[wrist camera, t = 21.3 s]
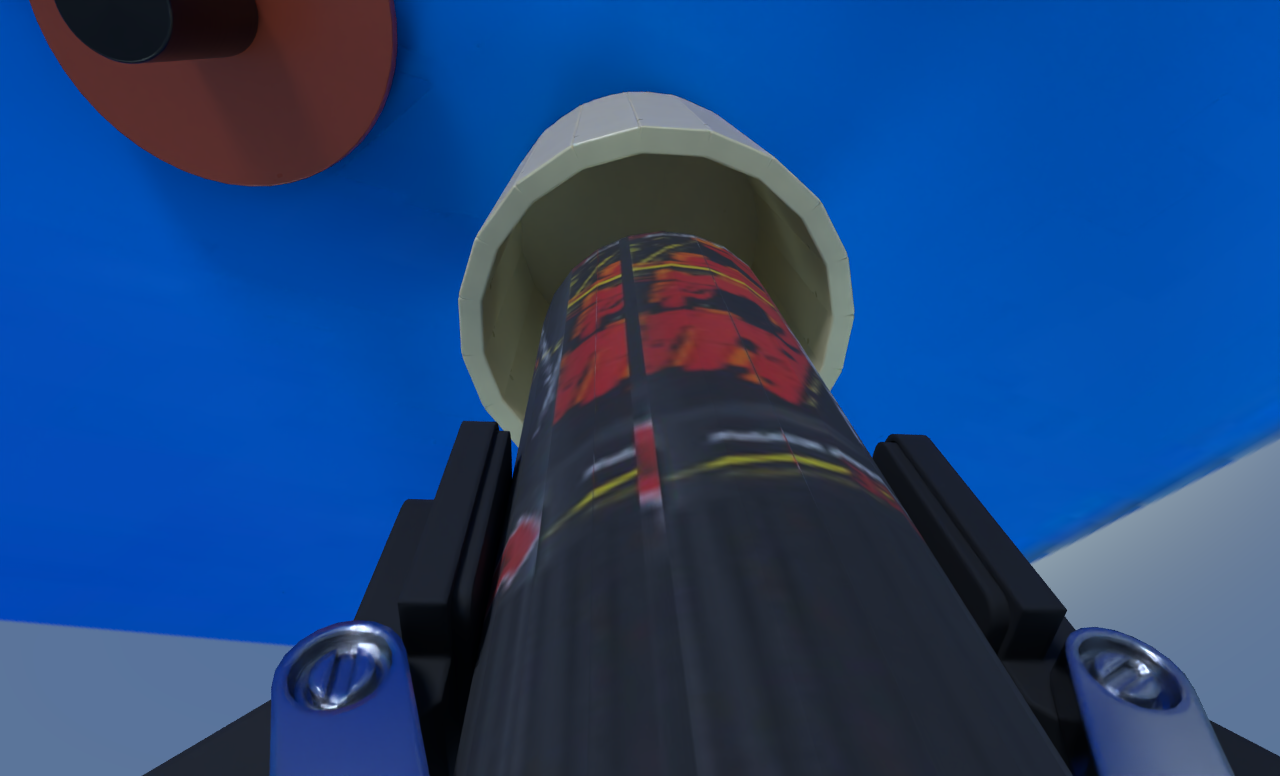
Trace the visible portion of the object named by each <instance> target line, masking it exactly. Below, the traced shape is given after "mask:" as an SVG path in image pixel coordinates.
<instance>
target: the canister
mask: <svg viewBox="0 0 1280 776" xmlns="http://www.w3.org/2000/svg"><path fill="white" fill-rule="evenodd" d="M658 231H666V232H675V233H684V234H692V235H696V236H699V237H701V238H704V239H706V240H709V241H711V242H714V243H716V244H719V245H721V246H724V247H725V248H726V249H728V250H729V251H730V252H731V253H733V254H734V255H735V256H737V257H738V258H739V259H741V260H742V261H743V262H744V263H746V264H747V265H748V266H749V267H750V269H751V270H752V271H753V273H754V274H755V276H756V277H757V278H758V280H759V281H760V282H761V284H762V285H763V287H764V288H765V289H766V291H767V293H768V294H769V296H770V297H771V299H772V300H773V302H774V304H775V305H776V307H777V308H778V310H779V311H780V313H781V315H782V316H783V318H784V319H785V321H786V323H787V324H788V326H789V327H790V329H791V330H792V332H793V334H794V335H795V337H796V338H797V340H798V342H799V343H800V345H801V346H802V348H803V349H804V351H805V353H806V354H807V356H808V357H809V359H810V361H811V362H812V364H813V365H814V367H815V368H816V370H817V372H818V373H819V375H820V376H821V378H822V380H823V381H824V383H825V384H826V386H827V387H828V389H829V391H830V390H831V389H832V387H833V385H834V383H835V382H836V380H837V378H838V377H839V375H840V373H841V371H842V370H841V369H842V368H843V364H844V359H845V355H846V351H847V346H848V342H849V337H850V333H851V328H852V324H853V319H854V303H853V294H852V285H851V276H850V267H849V258H848V257H847V252H846V250H845V248H844V246H843V244H842V242H841V240H840V238H839V236H838V234H837V232H836V230H835V228H834V226H833V224H832V222H831V220H830V218H829V216H828V214H827V212H826V210H825V208H824V206H823V204H822V203H821V202H820V199H819V198H818V197H816V196H815V195H814V194H813V193H812V192H811V191H810V190H809V189H808V188H807V187H806V186H805V185H804V184H803V183H802V182H800V181H799V180H798V179H797V178H796V177H795V176H794V175H793V174H792V173H791V172H790V171H789V170H788V169H787V168H786V167H784V166H783V165H782V164H781V163H780V162H779V161H778V160H777V159H776V158H775V157H773V156H772V155H771V154H769V153H768V152H767V151H765V150H764V149H763V148H761V147H760V146H759V145H757V144H756V143H755V142H753V141H752V140H751V139H749V138H748V137H746V136H745V135H744V134H742V133H741V132H740V131H738V130H737V129H736V128H734V127H733V126H732V125H730V124H729V123H728V122H726V121H725V120H724V119H722V118H721V117H720V116H718V115H717V114H715V113H714V112H712V111H710V110H707V109H705V108H703V107H701V106H698V105H696V104H694V103H692V102H690V101H687V100H685V99H682V98H680V97H677V96H673V95H671V94H660V93H653V92H627V93H626V92H624V93H620V94H614V95H609V96H606V97H603V98H599V99H596V100H593V101H591V102H588V103H585V104H583V105H580V106H579V107H577V108H576V109H574V110H573V111H571V112H570V113H568V114H566V115H565V116H563V117H562V118H560V119H559V120H558V121H557V122H556V123H555V124H553V125H552V126H550V127H549V128H548V129H546V131H545V132H543V133H542V135H541V136H540V137H539V139H538V140H537V142H536V143H535V144H534V146H533V147H532V149H531V150H530V151H529V153H528V154H527V156H526V157H525V158H524V160H523V161H522V162H521V164H520V165H519V167H518V168H517V170H516V172H515V173H514V175H513V177H512V178H511V180H510V181H509V183H508V185H507V186H506V188H505V190H504V191H503V193H502V195H501V196H500V198H499V200H498V201H497V203H496V204H495V206H494V208H493V209H492V211H491V213H490V214H489V216H488V218H487V219H486V221H485V222H484V224H483V226H482V227H481V229H480V231H479V232H478V234H477V237H476V238H475V240H474V243H473V247H472V250H471V254H470V257H469V260H468V264H467V267H466V271H465V274H464V278H463V281H462V285H461V288H460V291H459V298H458V304H459V321H460V337H461V352H462V355H463V359H464V362H465V364H466V367H467V369H468V371H469V374H470V376H471V378H472V381H473V383H474V386H475V388H476V390H477V393H478V395H479V398H480V400H481V402H482V405H483V406H485V409H486V411H487V412H488V413H489V414H490V415H491V416H492V417H493V419H494V420H495V421H496V422H497V423H498V424H499V426H500V427H501V428H502V429H503V430H504V431H510V434H511V439H512V441H513V442H514V443H515V444H516V445H517V446H518V447H519V443H520V438H521V433H522V428H523V423H524V418H525V413H526V408H527V403H528V398H529V393H530V388H531V383H532V378H533V373H534V368H535V363H536V358H537V353H538V348H539V343H540V338H541V333H542V328H543V323H544V320H545V317H546V314H547V311H548V309H549V306H550V303H551V301H552V298H553V295H554V293H555V292H556V290H557V289H558V288H559V286H560V285H561V284H562V282H563V281H564V280H565V278H566V277H567V275H568V274H569V273H570V271H571V270H572V269H573V268H574V267H575V266H577V265H578V264H579V263H580V262H582V261H583V260H584V259H585V258H587V257H588V256H589V255H591V254H592V253H593V252H594V251H596V250H597V249H598V248H601V247H603V246H606V245H608V244H610V243H613V242H615V241H617V240H620V239H622V238H624V237H627V236H630V235H637V234H644V233H651V232H658Z"/></svg>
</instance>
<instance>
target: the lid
mask: <svg viewBox="0 0 1280 776" xmlns="http://www.w3.org/2000/svg"><path fill="white" fill-rule="evenodd" d="M29 1H30V3H31V6H32V9H33V12H34V14H35V17H36V20H37V22H38V24H39V26H40V28H41V30H42V32H43V34H44V37H45V39H46V41H47V43H48V45H49V47H50V48H51V50H52V52H53V53H54V55H55V57H56V58H57V60H58V61H59V63H60V65H61V66H62V68H63V70H64V71H65V72H66V74H67V75H68V76H69V78H70V79H71V80H72V82H73V83H74V84H75V86H76V87H77V88H78V90H79V91H80V92H81V94H82V95H83V96H84V97H85V98H86V99H87V100H88V101H89V102H90V103H91V105H92V106H93V107H94V108H95V109H96V110H97V111H98V112H99V113H100V114H101V115H102V116H103V117H104V118H105V119H106V120H107V121H108V122H110V123H111V124H112V125H113V126H114V127H115V128H116V129H117V130H118V131H119V132H121V133H122V134H123V135H125V136H126V137H127V138H129V139H130V140H131V141H133V142H134V143H135V144H137V145H138V146H139V147H141V148H142V149H144V150H146V151H147V152H149V153H151V154H152V155H154V156H156V157H157V158H159V159H160V160H162V161H164V162H166V163H168V164H171V165H173V166H175V167H177V168H179V169H181V170H183V171H186V172H188V173H191V174H194V175H197V176H200V177H202V178H205V179H209V180H213V181H218V182H222V183H226V184H233V185H242V186H274V185H280V184H287V183H292V182H295V181H298V180H302V179H305V178H308V177H311V176H313V175H315V174H317V173H319V172H321V171H323V170H325V169H327V168H329V167H331V166H333V165H334V164H336V163H337V162H339V161H340V160H342V159H343V158H345V157H346V156H347V155H348V154H350V153H351V152H352V151H353V150H354V149H355V148H356V147H357V146H358V145H359V144H360V143H361V142H362V141H363V139H364V138H365V137H366V136H367V134H368V133H369V132H370V130H371V129H372V128H373V126H374V125H375V123H376V121H377V119H378V117H379V115H380V114H381V112H382V110H383V108H384V105H385V102H386V100H387V97H388V95H389V92H390V89H391V85H392V80H393V76H394V71H395V65H396V54H397V20H396V13H395V6H394V0H29Z"/></svg>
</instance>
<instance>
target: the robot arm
mask: <svg viewBox="0 0 1280 776" xmlns="http://www.w3.org/2000/svg"><path fill="white" fill-rule="evenodd" d="M872 459H873V460H874V462H875V463H876V465H877V466H878V468H879V470H880V471H881V473H882V474H883V476H884V478H885V479H886V481H887V482H888V484H889V485H890V487H891V489H892V490H893V492H894V493H895V495H896V497H897V498H898V500H899V501H900V503H901V504H902V506H903V508H904V509H905V511H906V512H907V514H908V516H909V517H910V519H911V520H912V522H913V523H914V525H915V527H916V528H917V530H918V531H919V533H920V535H921V536H922V538H923V539H924V541H925V542H926V544H927V546H928V547H929V549H930V550H931V552H932V553H933V555H934V557H935V558H936V560H937V561H938V563H939V565H940V566H941V568H942V569H943V571H944V572H945V574H946V576H947V577H948V579H949V580H950V582H951V584H952V585H953V587H954V588H955V590H956V591H957V593H958V595H959V596H960V598H961V599H962V601H963V603H964V604H965V606H966V607H967V609H968V610H969V612H970V614H971V615H972V617H973V618H974V620H975V621H976V623H977V625H978V626H979V628H980V629H981V631H982V633H983V634H984V636H985V637H986V639H987V640H988V642H989V644H990V645H991V647H992V648H993V650H994V652H995V653H996V655H997V656H998V658H999V659H1000V661H1001V663H1002V664H1003V666H1004V667H1005V669H1006V671H1007V672H1008V674H1009V675H1010V677H1011V678H1012V680H1013V682H1014V683H1015V685H1016V686H1017V688H1018V690H1019V691H1020V693H1021V694H1022V696H1023V697H1024V699H1025V701H1026V702H1027V704H1028V705H1029V707H1030V708H1031V710H1032V712H1033V713H1034V715H1035V716H1036V718H1037V720H1038V721H1039V723H1040V724H1041V726H1042V727H1043V729H1044V731H1045V732H1046V734H1047V735H1048V737H1049V739H1050V740H1051V742H1052V743H1053V745H1054V746H1055V748H1056V750H1057V751H1058V753H1059V754H1060V756H1061V758H1062V759H1063V761H1064V762H1065V764H1066V765H1067V767H1068V769H1069V770H1070V772H1071V773H1072V775H1073V776H1280V757H1279V756H1278V755H1276V754H1274V753H1272V752H1270V751H1268V750H1266V749H1264V748H1262V747H1260V746H1259V745H1257V744H1255V743H1253V742H1251V741H1249V740H1247V739H1245V738H1243V737H1241V736H1239V735H1237V734H1235V733H1233V732H1232V731H1230V730H1228V729H1226V728H1223V727H1222V726H1220V725H1218V724H1216V723H1214V722H1212V721H1210V720H1209V719H1208V717H1207V715H1206V712H1205V710H1204V708H1203V706H1202V704H1201V702H1200V699H1199V697H1198V696H1197V693H1196V691H1195V689H1194V687H1193V686H1192V684H1191V683H1190V681H1189V680H1188V678H1187V677H1186V675H1185V674H1184V673H1183V672H1182V671H1181V670H1180V669H1179V668H1178V667H1177V666H1176V665H1175V664H1174V663H1173V662H1172V661H1171V660H1170V659H1169V658H1167V657H1166V656H1164V655H1163V654H1162V653H1160V652H1159V651H1157V650H1156V649H1154V648H1153V647H1152V646H1150V645H1148V644H1146V643H1144V642H1142V641H1140V640H1138V639H1136V638H1134V637H1132V636H1129V635H1126V634H1124V633H1121V632H1118V631H1115V630H1111V629H1105V628H1098V627H1089V628H1080V629H1078V630H1075V629H1074V628H1073V626H1072V625H1071V624H1070V623H1069V622H1068V620H1067V619H1066V617H1065V614H1066V612H1067V609H1066V608H1065V607H1064V606H1063V604H1062V603H1061V602H1060V601H1059V599H1058V598H1057V597H1056V596H1055V594H1054V593H1053V592H1052V591H1051V589H1050V588H1049V587H1048V586H1047V584H1046V583H1045V582H1044V581H1043V579H1042V578H1041V577H1040V576H1039V574H1038V573H1037V572H1036V571H1035V569H1034V568H1033V567H1032V566H1031V564H1030V563H1029V562H1028V561H1027V559H1026V558H1025V557H1024V556H1023V554H1022V553H1021V552H1020V551H1019V549H1018V548H1017V547H1016V546H1015V544H1014V543H1013V542H1012V541H1011V540H1010V538H1009V537H1008V536H1007V535H1006V533H1005V532H1004V531H1003V530H1002V528H1001V527H1000V526H999V525H998V523H997V522H996V521H995V520H994V518H993V517H992V516H991V515H990V513H989V512H988V511H987V510H986V508H985V507H984V506H983V505H982V503H981V502H980V501H979V500H978V498H977V497H976V496H975V495H974V493H973V492H972V491H971V490H970V488H969V487H968V486H967V485H966V483H965V482H964V481H963V480H962V478H961V477H960V476H959V475H958V473H957V472H956V471H955V470H954V468H953V467H952V466H951V465H950V463H949V462H948V461H947V460H946V458H945V457H944V456H943V455H942V453H941V452H940V451H939V450H938V448H937V447H936V446H935V445H934V443H933V442H932V441H931V440H930V439H929V438H928V437H927V436H925V435H905V434H892V435H890V436H888V438H887V439H886V441H885V442H880V443H878V444H877V446H876V448H875V451H874V454H873V458H872ZM511 483H512V457H511V434H510V431H499V427H498V423H497V422H479V421H463V422H462V424H461V426H460V429H459V432H458V435H457V437H456V440H455V443H454V446H453V449H452V451H451V454H450V457H449V460H448V463H447V465H446V468H445V471H444V474H443V476H442V479H441V482H440V485H439V488H438V490H437V493H436V496H435V499H434V500H422V499H408V500H406V501H405V502H404V504H403V505H402V507H401V509H400V512H399V514H398V516H397V519H396V521H395V524H394V526H393V528H392V531H391V533H390V535H389V538H388V540H387V542H386V545H385V547H384V550H383V552H382V554H381V557H380V559H379V561H378V564H377V566H376V569H375V571H374V573H373V576H372V578H371V580H370V583H369V585H368V588H367V590H366V592H365V595H364V597H363V599H362V602H361V604H360V607H359V609H358V611H357V614H356V616H355V618H354V621H347V622H341V623H336V624H333V625H330V626H328V627H325V628H322V629H319V630H317V631H315V632H314V633H312V634H310V635H309V636H307V637H305V638H304V639H302V640H300V641H299V642H298V643H297V644H296V645H295V646H294V647H293V648H292V649H291V650H290V651H289V652H288V653H287V654H285V656H284V657H283V659H282V661H281V662H280V664H279V665H278V667H277V668H276V670H275V674H274V678H273V682H272V687H271V700H270V701H268V702H266V703H264V704H263V705H261V706H260V707H258V708H256V709H254V710H253V711H251V712H249V713H248V714H246V715H244V716H242V717H241V718H239V719H237V720H236V721H234V722H232V723H231V724H229V725H227V726H226V727H224V728H222V729H221V730H219V731H217V732H215V733H214V734H212V735H210V736H209V737H207V738H205V739H204V740H202V741H200V742H198V743H197V744H195V745H194V746H192V747H190V748H188V749H187V750H185V751H183V752H182V753H180V754H178V755H177V756H175V757H173V758H171V759H170V760H168V761H166V762H165V763H163V764H161V765H160V766H158V767H156V768H155V769H153V770H151V771H149V772H148V773H146V774H144V775H143V776H453V773H454V768H455V763H456V758H457V753H458V748H459V743H460V738H461V733H462V728H463V723H464V718H465V713H466V708H467V703H468V698H469V693H470V688H471V683H472V678H473V673H474V668H475V663H476V658H477V653H478V648H479V643H480V638H481V633H482V628H483V623H484V618H485V613H486V608H487V603H488V598H489V593H490V588H491V583H492V578H493V573H494V568H495V563H496V558H497V553H498V548H499V543H500V538H501V533H502V528H503V523H504V518H505V513H506V508H507V503H508V498H509V493H510V488H511Z"/></svg>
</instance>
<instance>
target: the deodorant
mask: <svg viewBox="0 0 1280 776" xmlns="http://www.w3.org/2000/svg"><path fill="white" fill-rule="evenodd" d="M453 776H1073V775H1072V773H1071V772H1070V770H1069V769H1068V767H1067V765H1066V764H1065V762H1064V761H1063V759H1062V758H1061V756H1060V754H1059V753H1058V751H1057V750H1056V748H1055V746H1054V745H1053V743H1052V742H1051V740H1050V739H1049V737H1048V735H1047V734H1046V732H1045V731H1044V729H1043V727H1042V726H1041V724H1040V723H1039V721H1038V720H1037V718H1036V716H1035V715H1034V713H1033V712H1032V710H1031V708H1030V707H1029V705H1028V704H1027V702H1026V701H1025V699H1024V697H1023V696H1022V694H1021V693H1020V691H1019V690H1018V688H1017V686H1016V685H1015V683H1014V682H1013V680H1012V678H1011V677H1010V675H1009V674H1008V672H1007V671H1006V669H1005V667H1004V666H1003V664H1002V663H1001V661H1000V659H999V658H998V656H997V655H996V653H995V652H994V650H993V648H992V647H991V645H990V644H989V642H988V640H987V639H986V637H985V636H984V634H983V633H982V631H981V629H980V628H979V626H978V625H977V623H976V621H975V620H974V618H973V617H972V615H971V614H970V612H969V610H968V609H967V607H966V606H965V604H964V603H963V601H962V599H961V598H960V596H959V595H958V593H957V591H956V590H955V588H954V587H953V585H952V584H951V582H950V580H949V579H948V577H947V576H946V574H945V572H944V571H943V569H942V568H941V566H940V565H939V563H938V561H937V560H936V558H935V557H934V555H933V553H932V552H931V550H930V549H929V547H928V546H927V544H926V542H925V541H924V539H923V538H922V536H921V535H920V533H919V531H918V530H917V528H916V527H915V525H914V523H913V522H912V520H911V519H910V517H909V516H908V514H907V512H906V511H905V509H904V508H903V506H902V504H901V503H900V501H899V500H898V498H897V497H896V495H895V493H894V492H893V490H892V489H891V487H890V485H889V484H888V482H887V481H886V479H885V478H884V476H883V474H882V473H881V471H880V470H879V468H878V466H877V465H876V463H875V462H874V460H873V459H872V457H871V455H870V454H869V452H868V451H867V449H866V448H865V446H864V444H863V443H862V441H861V440H860V438H859V436H858V435H857V433H856V432H855V430H854V429H853V427H852V425H851V424H850V422H849V421H848V419H847V417H846V416H845V414H844V413H843V411H842V410H841V408H840V406H839V405H838V403H837V402H836V400H835V398H834V397H833V395H832V394H831V392H830V391H829V389H828V387H827V386H826V384H825V383H824V381H823V380H822V378H821V376H820V375H819V373H818V372H817V370H816V368H815V367H814V365H813V364H812V362H811V361H810V359H809V357H808V356H807V354H806V353H805V351H804V349H803V348H802V346H801V345H800V343H799V342H798V340H797V338H796V337H795V335H794V334H793V332H792V330H791V329H790V327H789V326H788V324H787V323H786V321H785V319H784V318H783V316H782V315H781V313H780V311H779V310H778V308H777V307H776V305H775V304H774V302H773V300H772V299H771V297H770V296H769V294H768V293H767V291H766V289H765V288H764V287H763V285H762V284H761V282H760V281H759V280H758V278H757V277H756V276H755V274H754V273H753V271H752V270H751V269H750V267H749V266H748V265H747V264H746V263H744V262H743V261H742V260H741V259H739V258H738V257H737V256H735V255H734V254H733V253H731V252H730V251H729V250H728V249H726V248H725V247H724V246H721V245H719V244H716V243H714V242H711V241H709V240H706V239H704V238H701V237H699V236H696V235H692V234H684V233H675V232H666V231H658V232H651V233H644V234H637V235H630V236H627V237H624V238H622V239H620V240H617V241H615V242H613V243H610V244H608V245H606V246H603V247H601V248H598V249H597V250H596V251H594V252H593V253H592V254H591V255H589V256H588V257H587V258H585V259H584V260H583V261H582V262H580V263H579V264H578V265H577V266H575V267H574V268H573V269H572V270H571V271H570V273H569V274H568V275H567V277H566V278H565V280H564V281H563V282H562V284H561V285H560V286H559V288H558V289H557V290H556V292H555V293H554V295H553V298H552V301H551V303H550V306H549V309H548V311H547V314H546V317H545V320H544V323H543V328H542V333H541V338H540V343H539V348H538V353H537V358H536V363H535V368H534V373H533V378H532V383H531V388H530V393H529V398H528V403H527V408H526V413H525V418H524V423H523V428H522V433H521V438H520V443H519V448H518V453H517V458H516V463H515V468H514V473H513V478H512V483H511V488H510V493H509V498H508V503H507V508H506V513H505V518H504V523H503V528H502V533H501V538H500V543H499V548H498V553H497V558H496V563H495V568H494V573H493V578H492V583H491V588H490V593H489V598H488V603H487V608H486V613H485V618H484V623H483V628H482V633H481V638H480V643H479V648H478V653H477V658H476V663H475V668H474V673H473V678H472V683H471V688H470V693H469V698H468V703H467V708H466V713H465V718H464V723H463V728H462V733H461V738H460V743H459V748H458V753H457V758H456V763H455V768H454V773H453Z"/></svg>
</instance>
